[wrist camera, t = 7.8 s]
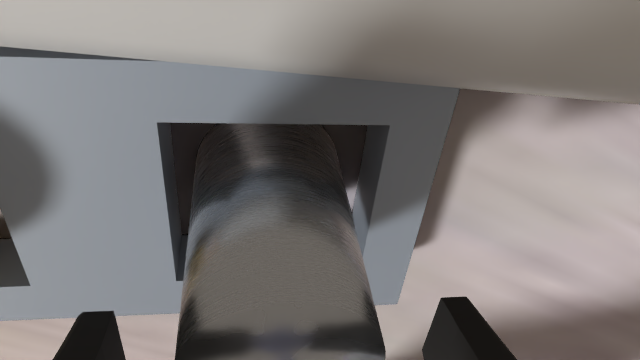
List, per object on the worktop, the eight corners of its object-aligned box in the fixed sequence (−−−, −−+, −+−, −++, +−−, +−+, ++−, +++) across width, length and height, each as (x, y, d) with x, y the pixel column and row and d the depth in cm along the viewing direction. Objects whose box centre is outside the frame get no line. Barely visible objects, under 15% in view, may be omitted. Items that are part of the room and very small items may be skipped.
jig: (384, 261, 20) (397, 303, 18) (-183, 277, 17) (-225, 330, 15) (441, 36, 14) (465, 70, 13) (-395, 2, 11) (-496, 42, 10)
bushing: (335, 213, 18) (376, 410, 12) (206, 223, 17) (191, 431, 12) (339, 102, 15) (395, 292, 10) (185, 111, 15) (154, 316, 9)
